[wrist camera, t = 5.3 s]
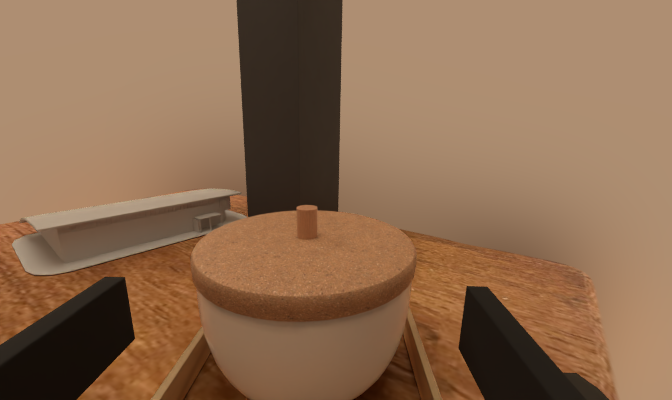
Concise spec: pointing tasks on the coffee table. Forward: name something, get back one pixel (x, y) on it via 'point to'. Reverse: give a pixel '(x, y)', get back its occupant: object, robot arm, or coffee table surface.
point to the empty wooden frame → (198, 351)
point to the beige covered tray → (120, 229)
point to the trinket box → (303, 301)
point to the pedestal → (290, 102)
